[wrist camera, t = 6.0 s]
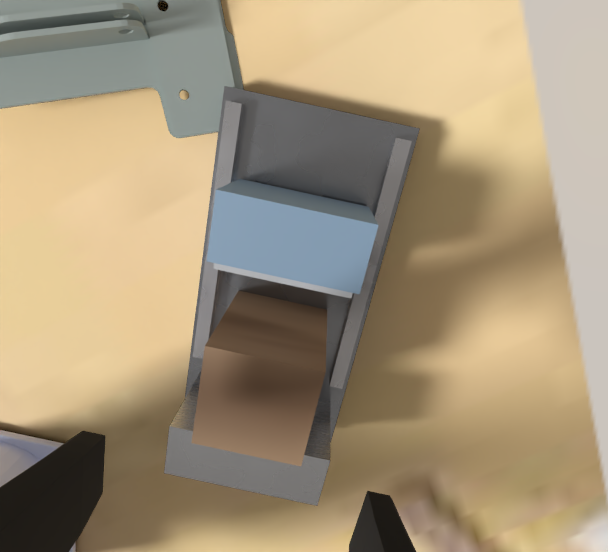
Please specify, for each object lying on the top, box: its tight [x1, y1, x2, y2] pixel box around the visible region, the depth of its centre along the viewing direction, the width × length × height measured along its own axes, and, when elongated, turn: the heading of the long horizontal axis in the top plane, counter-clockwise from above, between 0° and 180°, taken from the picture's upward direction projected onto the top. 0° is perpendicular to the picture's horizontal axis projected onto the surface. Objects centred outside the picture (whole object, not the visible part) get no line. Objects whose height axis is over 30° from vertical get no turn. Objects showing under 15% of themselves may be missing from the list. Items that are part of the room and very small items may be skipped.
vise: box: [164, 86, 419, 506], centre depth 16 cm, size 15×8×5 cm, turn 168°
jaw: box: [207, 179, 378, 298], centre depth 15 cm, size 3×5×4 cm, turn 78°
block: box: [191, 291, 327, 466], centre depth 16 cm, size 4×4×5 cm
